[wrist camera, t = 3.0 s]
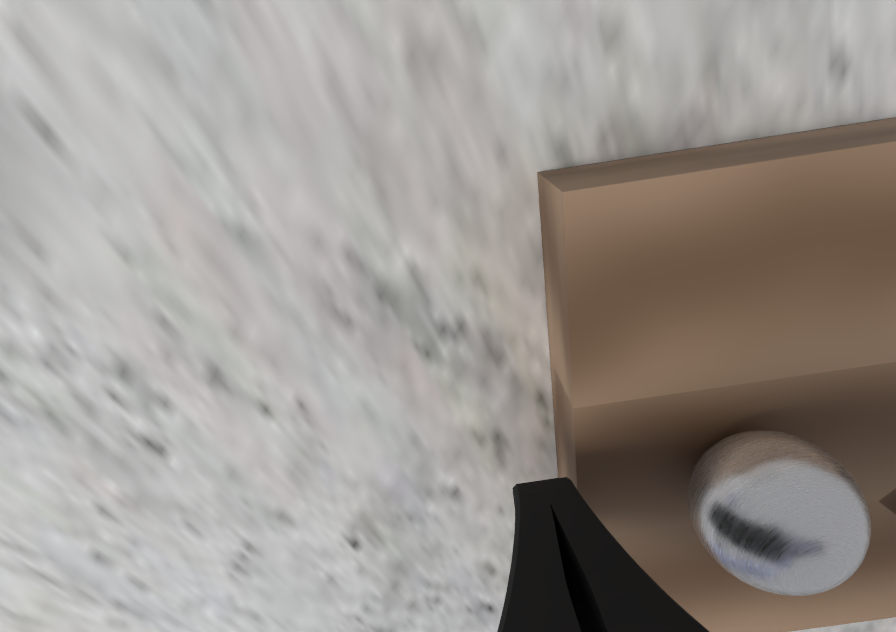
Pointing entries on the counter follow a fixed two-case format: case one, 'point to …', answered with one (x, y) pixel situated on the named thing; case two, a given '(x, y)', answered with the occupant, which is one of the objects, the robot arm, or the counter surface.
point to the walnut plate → (726, 344)
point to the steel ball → (779, 513)
